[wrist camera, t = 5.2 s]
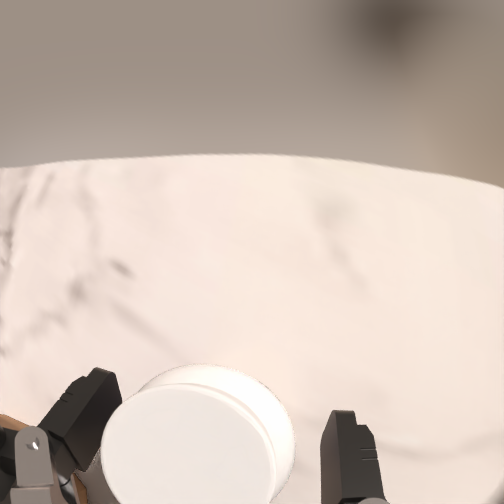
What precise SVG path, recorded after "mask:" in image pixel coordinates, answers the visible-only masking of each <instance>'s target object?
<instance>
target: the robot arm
mask: <svg viewBox="0 0 504 504" xmlns="http://www.w3.org/2000/svg"><path fill="white" fill-rule="evenodd" d="M121 404H122V397H121V394H120V390H119V386H118V382H117V378H116V375H115V373H113V372H110V371H107V370H104V369H101V368H98V367H96V368H94V369H93V370H92V371H91V372H90V374H89V375H88V376H87V377H85V376H82V377H80V378H79V379H77V380H75V381H74V382H72V383H71V385H70V386H69V387H68V388H67V389H66V391H65V393H63V394H62V396H61V397H60V400H58V401H57V402H56V403H55V404H54V406H53V407H52V408H51V410H50V411H49V412H48V413H47V415H46V416H45V417H44V419H43V420H42V421H41V422H40V424H39V425H38V426H37V427H35V426H28V427H25V428H23V429H21V430H20V431H17V430H12V429H8V428H4V427H2V426H1V425H0V504H80V501H79V497H78V493H77V489H76V485H75V481H74V477H73V474H72V473H73V471H74V470H75V468H77V469H79V470H81V471H83V472H86V470H87V468H88V467H89V465H90V463H91V461H92V460H93V458H94V456H95V454H96V453H97V451H98V449H99V447H100V446H101V441H102V436H103V432H104V429H105V427H106V424H107V422H108V420H109V419H110V417H111V416H112V414H113V412H114V411H115V410H116V409H117V408H118V407H119V406H120V405H121ZM375 449H376V446H375V441H374V436H373V434H372V433H371V431H370V430H369V428H368V427H367V426H366V425H357V423H356V417H355V413H354V411H343V410H333V411H332V412H331V415H330V417H329V420H328V422H327V425H326V427H325V430H324V432H323V435H322V438H321V445H320V457H321V504H390V503H388V502H387V500H386V499H385V496H384V493H383V486H382V480H381V474H380V468H379V462H378V460H377V451H376V450H375Z"/></svg>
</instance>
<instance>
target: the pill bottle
mask: <svg viewBox="0 0 504 504" xmlns="http://www.w3.org/2000/svg"><path fill="white" fill-rule="evenodd" d="M295 448H296V443H295V435H294V430H293V426H292V423H291V421H290V418H289V415H288V413H287V412H286V410H285V408H284V407H283V405H282V404H281V402H280V401H279V399H278V398H277V397H276V396H275V395H274V394H273V393H272V392H271V391H270V390H269V389H268V388H267V387H266V386H264V385H263V384H262V383H261V382H259V381H257V380H256V379H254V378H252V377H251V376H249V375H247V374H245V373H242V372H240V371H237V370H234V369H231V368H228V367H223V366H218V365H210V364H193V365H186V366H180V367H177V368H173V369H171V370H168V371H166V372H164V373H162V374H160V375H158V376H156V377H155V378H153V379H152V380H150V381H149V382H148V383H147V384H145V385H144V386H143V387H142V388H141V389H140V390H139V392H138V393H136V394H134V395H133V396H131V397H129V398H128V399H127V400H125V401H124V402H123V403H122V404H121V405H120V406H119V407H118V408H117V409H116V410H115V411H114V412H113V414H112V416H111V417H110V419H109V420H108V422H107V424H106V427H105V429H104V432H103V436H102V441H101V451H100V454H101V464H102V469H103V473H104V476H105V479H106V481H107V484H108V486H109V488H110V489H111V491H112V493H113V495H114V496H115V498H116V499H117V500H118V502H119V503H120V504H269V503H270V502H271V501H272V500H273V499H274V498H275V497H276V496H277V495H278V493H279V492H280V491H281V490H282V489H283V487H284V485H285V484H286V482H287V480H288V478H289V476H290V474H291V471H292V468H293V465H294V460H295Z"/></svg>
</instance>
